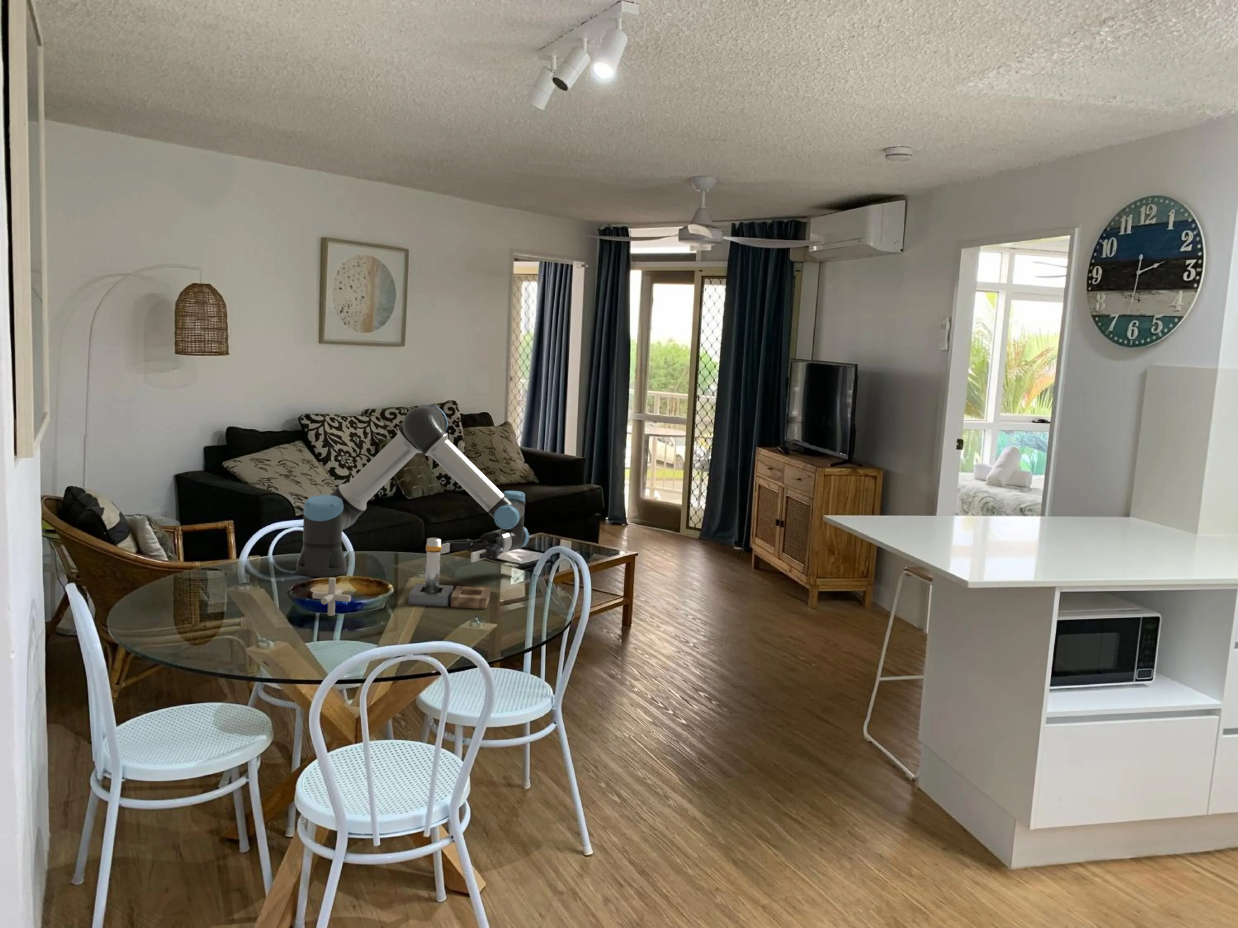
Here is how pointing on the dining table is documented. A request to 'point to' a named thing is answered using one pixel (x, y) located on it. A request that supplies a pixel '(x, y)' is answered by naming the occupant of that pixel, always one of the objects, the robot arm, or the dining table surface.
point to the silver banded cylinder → (432, 565)
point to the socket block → (430, 596)
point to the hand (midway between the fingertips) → (453, 554)
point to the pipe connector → (331, 596)
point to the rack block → (470, 597)
